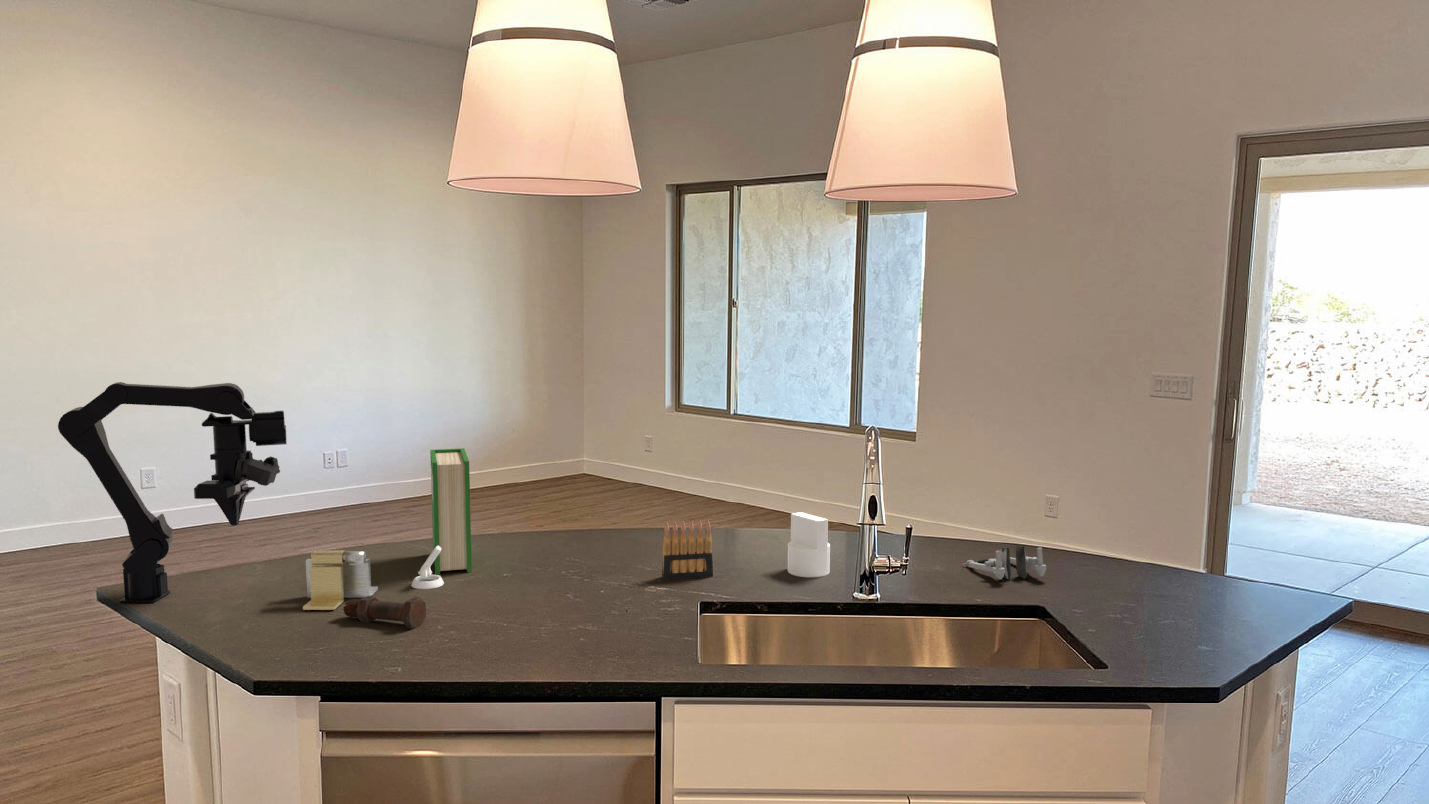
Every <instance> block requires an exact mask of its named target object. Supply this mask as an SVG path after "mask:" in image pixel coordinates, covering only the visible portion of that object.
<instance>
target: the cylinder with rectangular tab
mask: <svg viewBox="0 0 1429 804" xmlns="http://www.w3.org/2000/svg"><path fill="white" fill-rule="evenodd" d="M828 536H829V519H827V518H825V517H822V516H817V515H813V514H809V513H806V512H803V511H800V512H799V511H798V512H793V513H790V541H788V543H787V573H788V574H790V575H792V576H795V577H801V578H819V577H825V576H828V575H829V574H830V571H831V569H830V568H831V565H830V564H831V563H830V561H831V558H830V557H831V544H830V543H829V541H828V539H829V537H828Z"/></svg>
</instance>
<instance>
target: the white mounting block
mask: <svg viewBox="0 0 1429 804" xmlns="http://www.w3.org/2000/svg"><path fill="white" fill-rule="evenodd" d="M343 560H345V562H346V563H344V564H343V565H312V562H311V558H307V559H306V560H305V573H306V575H305V577H306V598H307V599H311V585H310V567H311V566H342V568H343V594H344V598H347V599H348V598H350V599H351V598H352V599H355V598H356V599H357V598H360V599H362V598H364V597H366V596H373V595H374V594H375V593H376V592H377V591H378V590H379V586H372V577H371V575H372V574H371V559H370V558H367V553H366V551H360V550H358V551H357V550H356V551H355V550H354V551H347V550H346V555H343Z"/></svg>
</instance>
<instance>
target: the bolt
mask: <svg viewBox="0 0 1429 804" xmlns="http://www.w3.org/2000/svg"><path fill="white" fill-rule="evenodd" d="M342 611H343V613H344V614H345V616H347V617H350V618H357V619H359V621H360V622H361V623H366V624H369V623H373V622H374V621H376V620H383V621H384V620H385V621H386V620H387V621H394V622H395V621H396V622H401V623H403V624H404V625H405V628H406V629H409V630H414V629H417V628H419V627H421V626H422V625H423V624H424V622H425V620H426V618H427V605H426V602H425V600H424V599H423V598H422V597H420V596H414V597H412V598H410V599H407V600H406V601H404V602H392V601H380V600H379V599H378V598H377V596H376V595H371V596H366V597H361V598H360V599H357V598H356V599H355V598H352V599H348V600H347V601H345V602H344V606H343V610H342Z"/></svg>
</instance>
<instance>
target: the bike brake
mask: <svg viewBox="0 0 1429 804" xmlns="http://www.w3.org/2000/svg"><path fill="white" fill-rule="evenodd" d="M1036 555H1037V556H1026V548H1025V546H1024V545H1016V547H1015V557H1012V556H1011V555H1010V548H1009V546H1003V545H1002V546H1000V550H996V551H995V558H989V559H988V558H986V559H980V560H977V561H976V562H975V561H974V560H973V559H968V560H966V563H962V565H963V566H964V565H965V566H966V567H968V568H972V569H975V570H976V569H977V570H982V571H987V572H991V573H993V574H994V575H995V578H996V579H997V580H1003V579H1006V580H1008V581H1010V580H1011V577H1012V573H1011V571H1012V570H1011V564H1014V565H1016V575H1017V577H1019V578H1021V579H1026V578H1027V569H1028V570H1032V571H1036V574H1037V575H1038V577H1044V575H1045V574H1046V571H1047V565H1046V564H1044V559H1043V558H1044V556H1043V548H1042V547H1037V548H1036Z"/></svg>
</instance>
